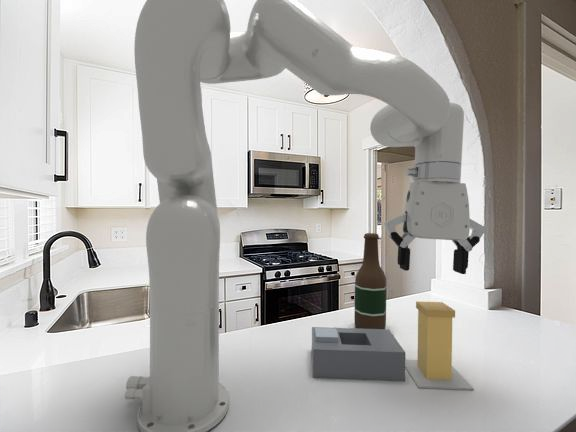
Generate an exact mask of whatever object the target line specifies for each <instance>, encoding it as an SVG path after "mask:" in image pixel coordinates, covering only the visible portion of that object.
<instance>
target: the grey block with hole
mask: <svg viewBox="0 0 576 432" xmlns="http://www.w3.org/2000/svg"><path fill="white" fill-rule="evenodd" d="M405 360H406V351H405V349H404V348H403V346H402V345H401V344H400V342H399V341H398V339H396V337H395V336H394V334H393V332H392V331H391V330H390V329H387V328H385V329H358V328H355V327H320V326H318V327H317V326H312V327H311V364H312V365H311V366H312V378H325V379H348V380H349V379H351V380H352V379H353V380H374V381H375V380H378V381H400V382H405V381H406V368H405Z"/></svg>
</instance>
